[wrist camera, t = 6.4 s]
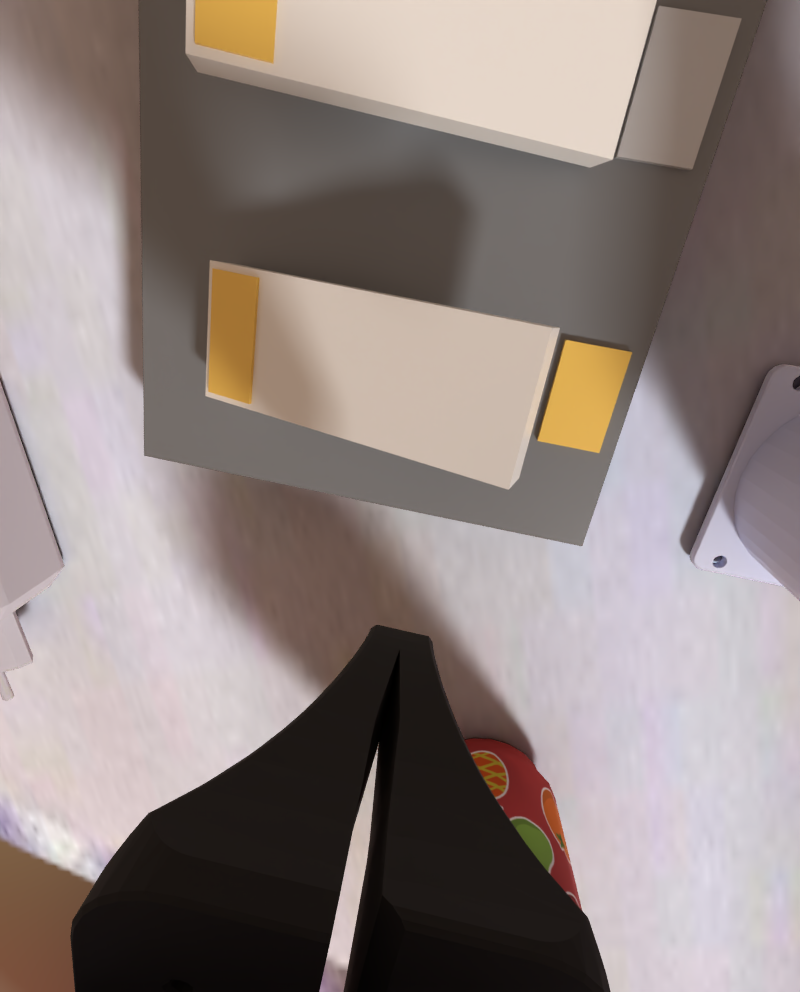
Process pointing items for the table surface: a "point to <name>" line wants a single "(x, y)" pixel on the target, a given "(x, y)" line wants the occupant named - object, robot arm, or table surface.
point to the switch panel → (425, 254)
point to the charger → (20, 546)
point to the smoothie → (526, 805)
